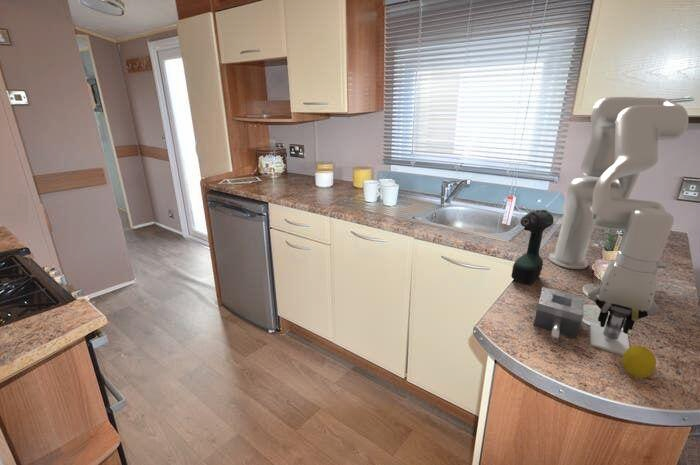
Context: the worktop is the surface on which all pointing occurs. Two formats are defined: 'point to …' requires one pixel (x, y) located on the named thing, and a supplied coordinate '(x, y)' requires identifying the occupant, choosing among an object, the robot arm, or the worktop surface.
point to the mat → (608, 340)
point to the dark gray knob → (616, 320)
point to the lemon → (639, 361)
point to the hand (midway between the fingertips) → (613, 326)
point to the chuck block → (559, 313)
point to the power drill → (532, 247)
